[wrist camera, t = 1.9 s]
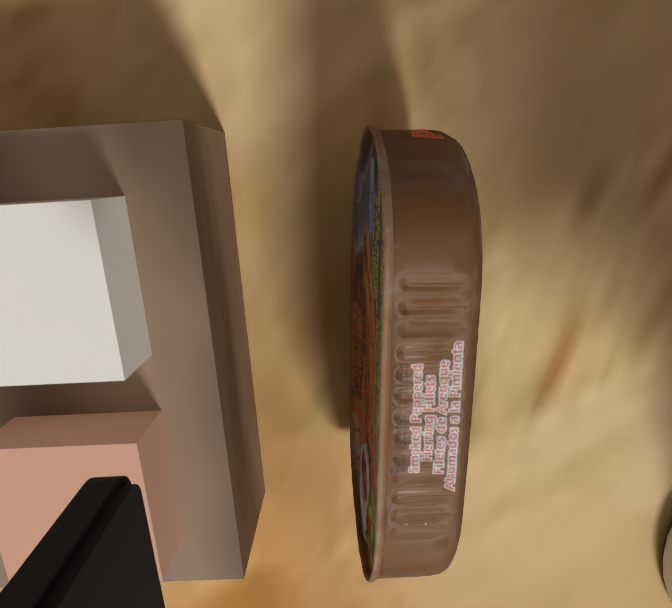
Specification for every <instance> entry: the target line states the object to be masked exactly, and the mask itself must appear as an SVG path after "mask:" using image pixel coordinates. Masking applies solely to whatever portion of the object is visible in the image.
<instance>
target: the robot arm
mask: <svg viewBox="0 0 672 608" xmlns="http://www.w3.org/2000/svg"><path fill="white" fill-rule="evenodd" d="M663 578H664V582H665V585H666V589H667V592H668V596H669V598H670V599H671V601H672V527H671V529H670V532H669V534H668V536H667V540H666V545H665V550H664V555H663ZM0 608H165V605H164V600H163V595H162V590H161V585H160V580H159V575H158V570H157V566H156V561H155V556H154V551H153V546H152V541H151V536H150V531H149V526H148V521H147V516H146V511H145V506H144V501H143V496H142V491H141V488H140V486H139V485H137V484H131V481H130V480H129V478H128V477H127V476H109V477H93V478H90V479H88V480H87V481H86V482H85V483H84V484H83V486H82V487H81V488H80V490H79V491H78V492H77V494H76V495H75V496H74V497H73V499H72V500H71V501H70V503H69V504H68V505H67V507H66V508H65V509H64V511H63V512H62V513H61V514H60V516H59V517H58V518H57V520H56V521H55V522H54V524H53V525H52V526H51V527H50V529H49V530H48V531H47V533H46V534H45V535H44V537H43V538H42V539H41V541H40V542H39V543H38V544H37V546H36V547H35V548H34V550H33V551H32V552H31V554H30V555H29V556H28V557H27V559H26V560H25V561H24V563H23V564H22V565H21V567H20V568H19V569H18V571H17V572H16V573H15V574H14V576H13V577H12V578H11V580H10V581H9V582H8V584H7V585H6V586H5V587H4V589H3V590H2V591H1V593H0Z"/></svg>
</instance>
